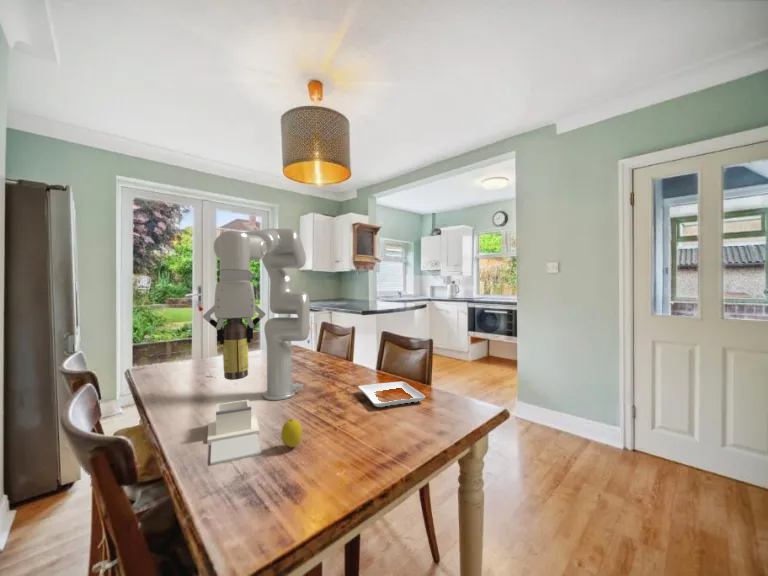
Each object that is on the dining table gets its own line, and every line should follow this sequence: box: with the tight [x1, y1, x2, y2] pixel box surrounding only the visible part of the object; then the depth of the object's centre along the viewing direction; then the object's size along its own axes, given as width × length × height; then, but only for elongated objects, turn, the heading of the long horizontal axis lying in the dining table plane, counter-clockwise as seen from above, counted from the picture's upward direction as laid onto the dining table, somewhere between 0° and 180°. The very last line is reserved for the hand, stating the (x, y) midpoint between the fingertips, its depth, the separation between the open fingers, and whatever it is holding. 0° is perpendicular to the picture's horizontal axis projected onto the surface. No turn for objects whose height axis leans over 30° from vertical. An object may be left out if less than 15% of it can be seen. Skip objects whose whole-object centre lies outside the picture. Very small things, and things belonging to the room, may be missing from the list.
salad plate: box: [357, 381, 426, 408], centre depth 131 cm, size 21×21×3 cm
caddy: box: [206, 399, 261, 444], centre depth 103 cm, size 14×14×8 cm
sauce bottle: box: [222, 318, 249, 381], centre depth 90 cm, size 6×6×20 cm
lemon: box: [281, 418, 303, 449], centre depth 91 cm, size 6×6×8 cm
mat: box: [209, 434, 262, 466], centre depth 91 cm, size 12×12×1 cm
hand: (235, 342), depth 90 cm, fingers closed on sauce bottle, 6 cm apart
